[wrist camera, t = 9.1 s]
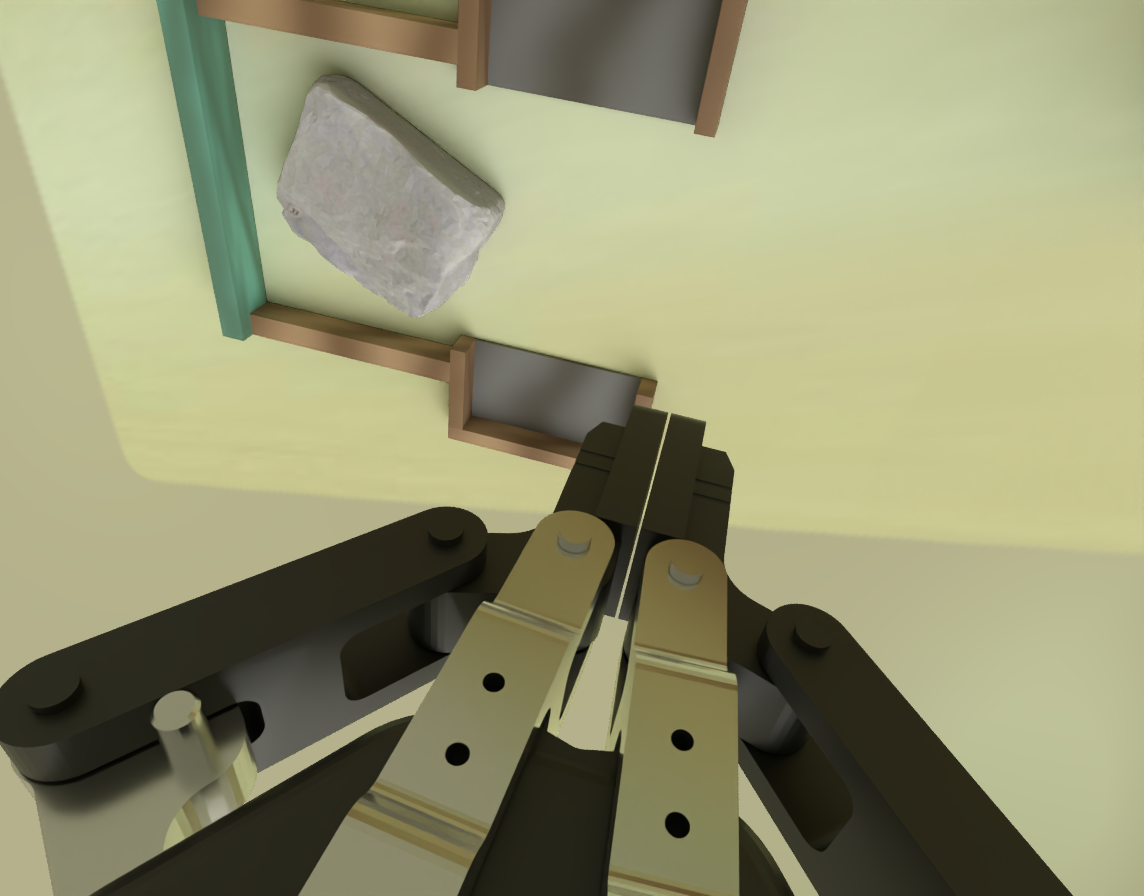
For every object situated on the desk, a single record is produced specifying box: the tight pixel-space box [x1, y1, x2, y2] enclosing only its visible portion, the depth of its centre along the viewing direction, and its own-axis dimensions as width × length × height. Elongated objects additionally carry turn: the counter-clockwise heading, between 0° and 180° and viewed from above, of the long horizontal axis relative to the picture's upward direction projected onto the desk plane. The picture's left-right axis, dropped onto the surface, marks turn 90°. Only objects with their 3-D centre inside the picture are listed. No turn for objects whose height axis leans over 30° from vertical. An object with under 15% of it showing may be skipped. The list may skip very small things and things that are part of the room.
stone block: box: [277, 75, 505, 318], centre depth 41 cm, size 12×5×10 cm
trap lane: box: [156, 0, 748, 470], centre depth 40 cm, size 28×29×3 cm
